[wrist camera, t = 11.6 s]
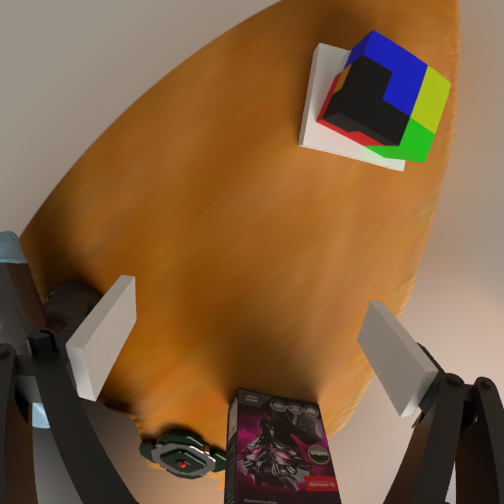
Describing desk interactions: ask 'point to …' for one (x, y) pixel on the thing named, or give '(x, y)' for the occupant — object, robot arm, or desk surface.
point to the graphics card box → (277, 453)
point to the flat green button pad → (183, 455)
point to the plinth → (318, 88)
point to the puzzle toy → (385, 100)
